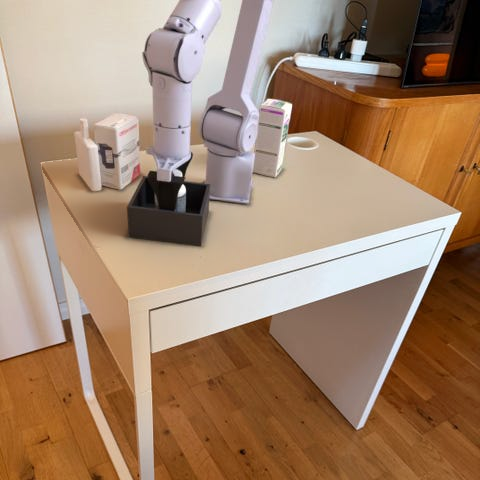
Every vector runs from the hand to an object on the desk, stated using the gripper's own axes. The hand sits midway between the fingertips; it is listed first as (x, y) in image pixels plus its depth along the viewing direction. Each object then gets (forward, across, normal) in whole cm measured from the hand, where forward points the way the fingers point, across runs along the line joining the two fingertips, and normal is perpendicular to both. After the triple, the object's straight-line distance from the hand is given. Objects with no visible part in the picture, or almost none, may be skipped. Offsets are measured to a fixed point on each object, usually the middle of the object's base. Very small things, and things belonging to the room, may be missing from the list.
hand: (171, 203), depth 78 cm
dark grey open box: (+4, 0, 0) cm, 4 cm away
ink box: (+4, -15, -13) cm, 20 cm away
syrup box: (+4, -29, +17) cm, 34 cm away
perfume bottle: (+4, -12, -18) cm, 22 cm away
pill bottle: (+3, 0, 0) cm, 4 cm away
